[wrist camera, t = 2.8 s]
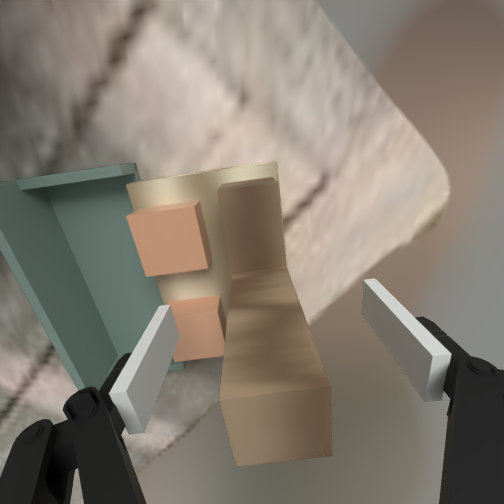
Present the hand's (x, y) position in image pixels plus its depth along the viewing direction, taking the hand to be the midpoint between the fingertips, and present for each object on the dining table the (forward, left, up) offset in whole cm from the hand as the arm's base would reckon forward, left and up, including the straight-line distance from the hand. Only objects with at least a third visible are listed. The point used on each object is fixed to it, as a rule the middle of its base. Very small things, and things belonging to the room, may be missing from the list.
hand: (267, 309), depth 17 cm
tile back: (-7, -5, -6) cm, 10 cm away
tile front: (-7, +4, -6) cm, 10 cm away
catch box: (-14, 0, -9) cm, 17 cm away
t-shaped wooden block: (0, 0, -6) cm, 6 cm away
